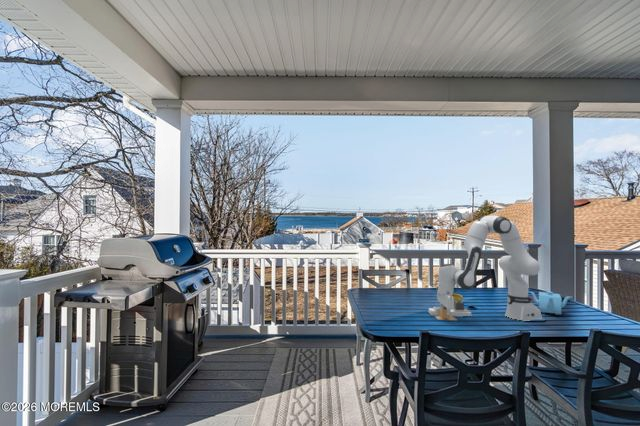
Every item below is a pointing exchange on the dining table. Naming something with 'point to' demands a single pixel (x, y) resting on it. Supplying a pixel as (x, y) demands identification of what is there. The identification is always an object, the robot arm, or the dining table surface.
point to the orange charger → (444, 313)
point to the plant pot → (457, 297)
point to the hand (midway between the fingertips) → (445, 312)
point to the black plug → (459, 305)
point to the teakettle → (550, 302)
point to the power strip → (452, 313)
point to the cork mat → (446, 318)
